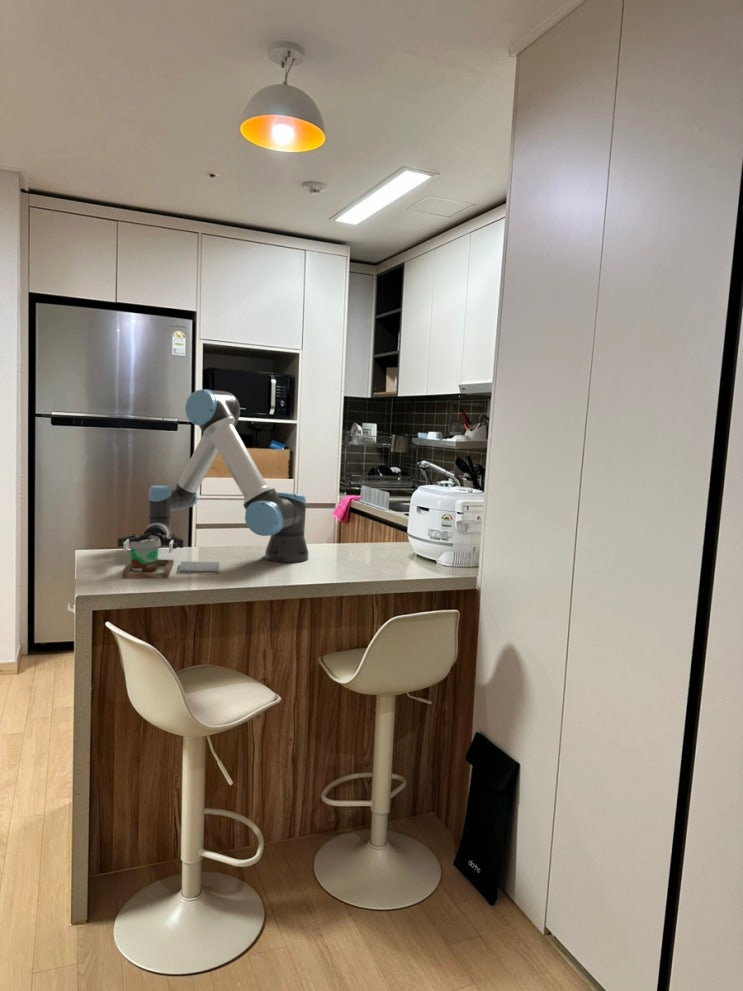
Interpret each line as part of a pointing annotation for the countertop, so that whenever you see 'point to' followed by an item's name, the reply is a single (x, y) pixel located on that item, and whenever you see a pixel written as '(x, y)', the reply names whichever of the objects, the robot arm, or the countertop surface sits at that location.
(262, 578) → the countertop surface
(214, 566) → the plate
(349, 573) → the countertop surface
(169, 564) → the walnut holder
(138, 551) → the food container
